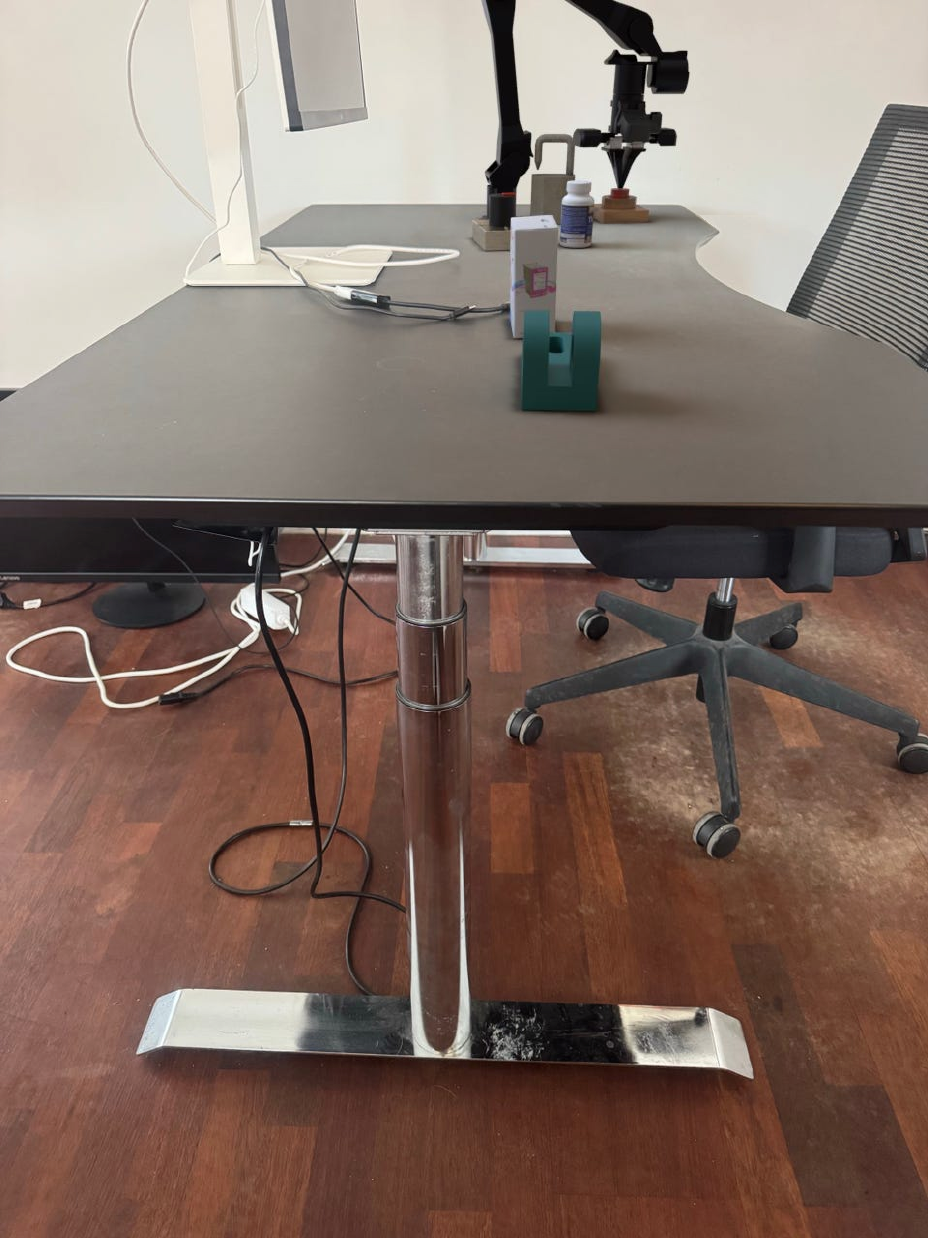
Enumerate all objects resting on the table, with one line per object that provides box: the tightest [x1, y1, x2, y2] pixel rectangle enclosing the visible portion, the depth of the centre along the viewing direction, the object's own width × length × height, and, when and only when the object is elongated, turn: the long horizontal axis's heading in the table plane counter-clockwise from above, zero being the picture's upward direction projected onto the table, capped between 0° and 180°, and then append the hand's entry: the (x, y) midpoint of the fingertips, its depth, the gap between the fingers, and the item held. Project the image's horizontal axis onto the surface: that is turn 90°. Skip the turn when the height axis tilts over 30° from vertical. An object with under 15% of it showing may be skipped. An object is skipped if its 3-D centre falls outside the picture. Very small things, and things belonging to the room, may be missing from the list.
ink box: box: [509, 215, 559, 339], centre depth 100 cm, size 9×5×12 cm, turn 1°
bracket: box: [520, 310, 602, 412], centre depth 85 cm, size 18×7×8 cm, turn 177°
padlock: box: [529, 133, 576, 225], centre depth 164 cm, size 4×8×15 cm, turn 85°
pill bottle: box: [559, 180, 595, 249], centre depth 145 cm, size 5×5×10 cm
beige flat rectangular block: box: [471, 219, 511, 252], centre depth 149 cm, size 12×10×3 cm
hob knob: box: [489, 193, 515, 227], centre depth 146 cm, size 4×4×5 cm
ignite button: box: [609, 187, 631, 198], centre depth 169 cm, size 4×4×2 cm
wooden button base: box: [593, 194, 650, 225], centre depth 170 cm, size 10×9×4 cm
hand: (620, 188), depth 169 cm, fingers closed
